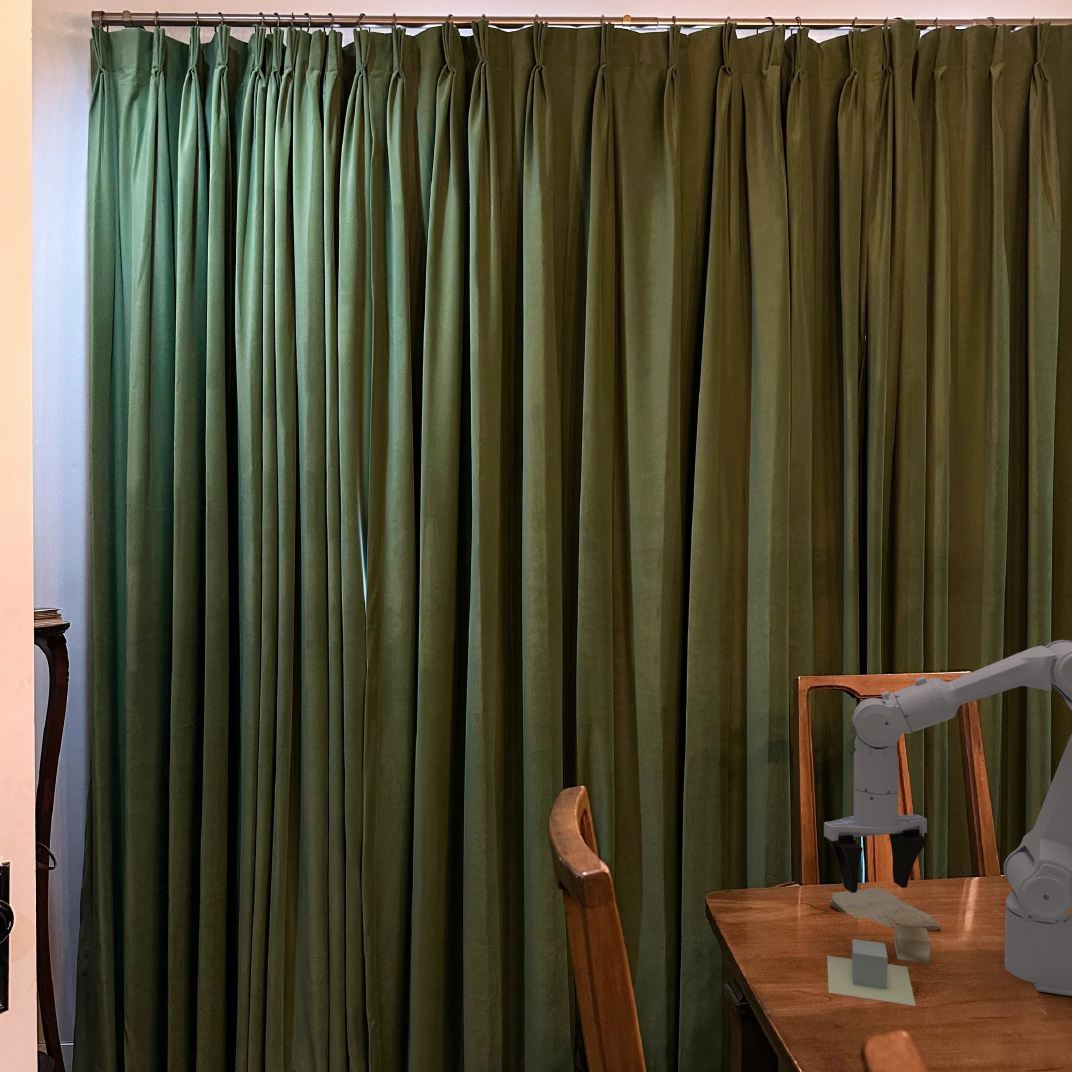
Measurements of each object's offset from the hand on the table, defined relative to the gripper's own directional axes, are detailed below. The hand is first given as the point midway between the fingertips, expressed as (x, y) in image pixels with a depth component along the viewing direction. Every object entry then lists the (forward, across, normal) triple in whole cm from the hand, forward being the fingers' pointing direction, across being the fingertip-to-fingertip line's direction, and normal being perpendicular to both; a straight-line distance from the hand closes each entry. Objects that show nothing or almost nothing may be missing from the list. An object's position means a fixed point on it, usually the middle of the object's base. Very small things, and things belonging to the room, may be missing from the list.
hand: (875, 887), depth 124 cm
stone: (+10, -8, -11) cm, 17 cm away
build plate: (+10, +6, +7) cm, 13 cm away
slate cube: (+8, +6, +7) cm, 12 cm away
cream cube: (+10, -4, +2) cm, 11 cm away
